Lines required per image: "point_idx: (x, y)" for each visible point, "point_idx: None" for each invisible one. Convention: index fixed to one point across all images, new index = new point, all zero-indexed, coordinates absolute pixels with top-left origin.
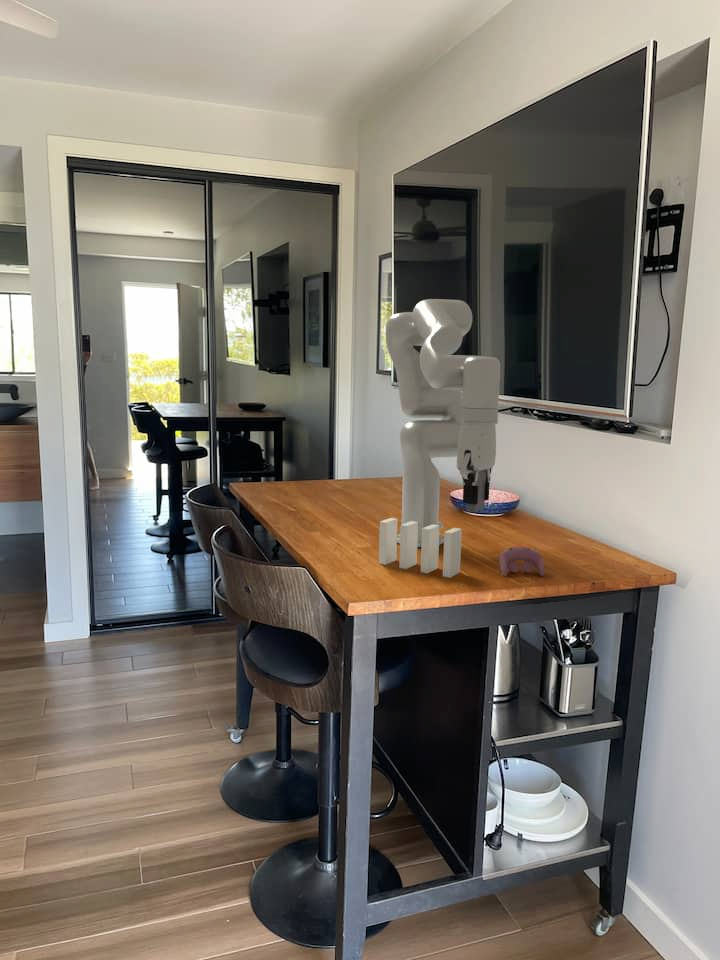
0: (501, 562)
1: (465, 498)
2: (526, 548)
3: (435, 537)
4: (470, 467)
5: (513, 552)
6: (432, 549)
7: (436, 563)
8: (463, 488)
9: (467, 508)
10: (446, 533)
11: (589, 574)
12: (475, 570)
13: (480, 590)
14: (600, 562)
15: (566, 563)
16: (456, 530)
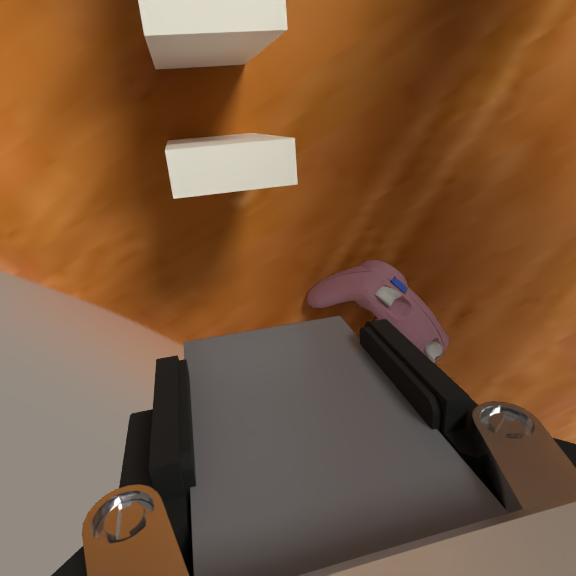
0: (336, 287)
1: (130, 419)
2: (422, 345)
3: (229, 43)
4: None
5: (382, 318)
6: (195, 53)
7: (232, 62)
8: (152, 435)
9: (184, 356)
10: (167, 164)
11: None
12: (309, 193)
13: (132, 318)
14: (558, 389)
15: (515, 342)
16: (245, 183)
